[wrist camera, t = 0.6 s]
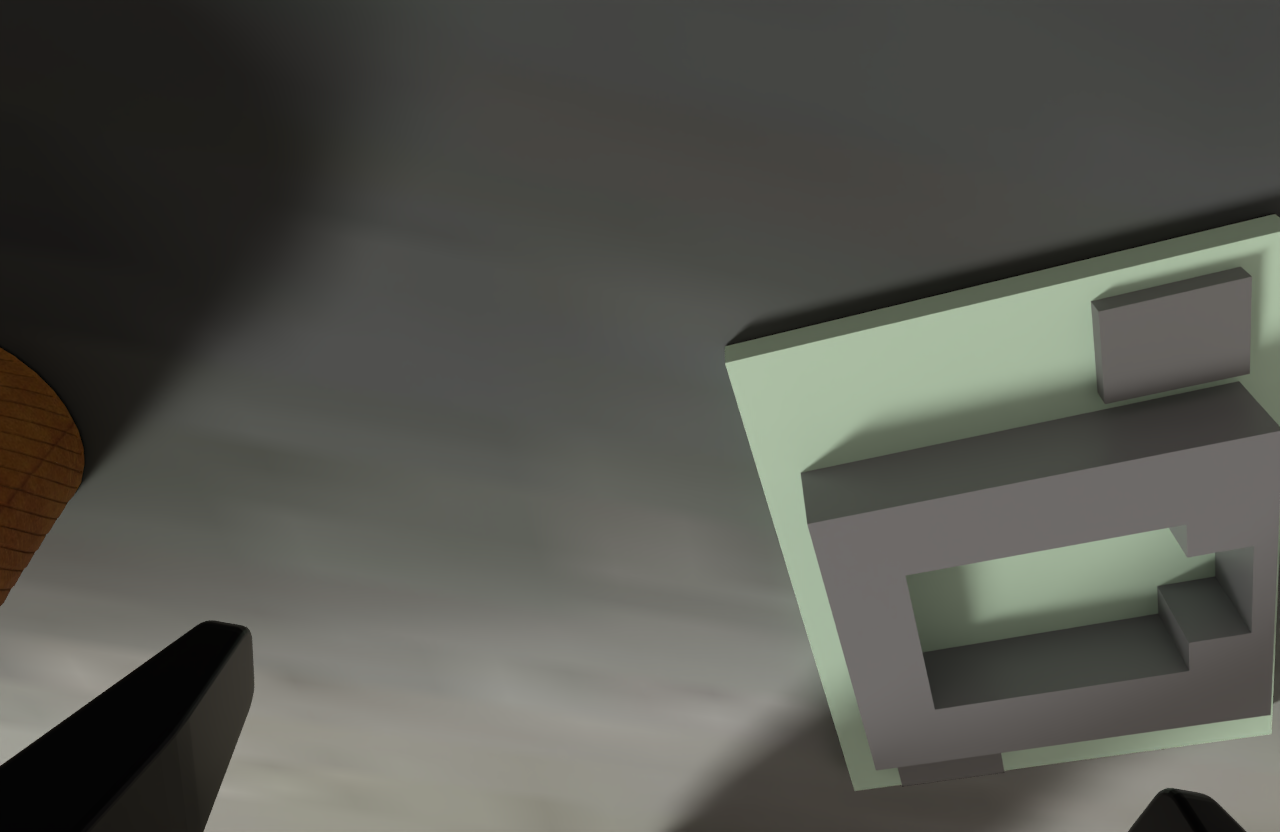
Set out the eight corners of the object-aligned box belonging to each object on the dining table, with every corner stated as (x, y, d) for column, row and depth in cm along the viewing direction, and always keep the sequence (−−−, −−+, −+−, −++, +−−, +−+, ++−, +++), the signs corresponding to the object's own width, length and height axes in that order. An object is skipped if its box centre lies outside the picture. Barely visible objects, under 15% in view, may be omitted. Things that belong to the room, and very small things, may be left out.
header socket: (1235, 655, 26) (1270, 715, 25) (866, 713, 28) (876, 770, 27) (1239, 380, 22) (1283, 430, 20) (800, 472, 24) (807, 523, 22)
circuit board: (1258, 712, 29) (1280, 748, 27) (851, 769, 31) (856, 805, 30) (1274, 213, 21) (1306, 237, 19) (724, 346, 23) (725, 374, 22)
